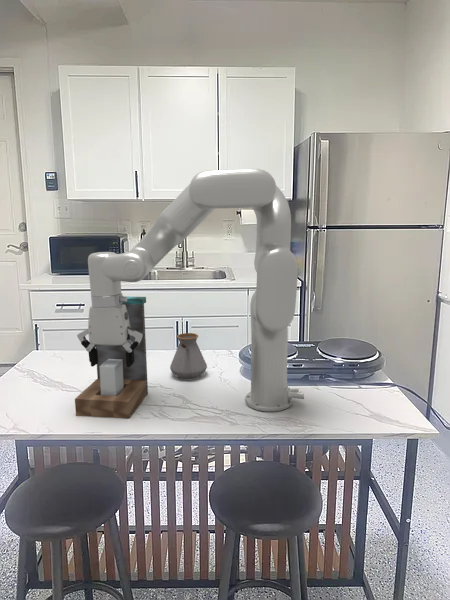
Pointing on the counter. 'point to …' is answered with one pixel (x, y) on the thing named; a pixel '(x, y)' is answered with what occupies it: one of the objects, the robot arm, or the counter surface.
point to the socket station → (133, 376)
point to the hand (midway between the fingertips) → (112, 365)
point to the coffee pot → (188, 358)
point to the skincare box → (111, 377)
